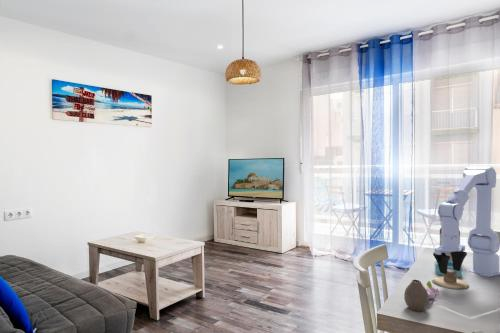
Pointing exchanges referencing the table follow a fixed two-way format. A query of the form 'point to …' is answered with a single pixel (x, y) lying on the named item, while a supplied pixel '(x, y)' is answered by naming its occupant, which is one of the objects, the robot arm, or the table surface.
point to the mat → (450, 288)
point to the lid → (450, 280)
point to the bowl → (450, 266)
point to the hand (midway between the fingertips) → (450, 271)
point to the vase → (416, 296)
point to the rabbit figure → (431, 290)
